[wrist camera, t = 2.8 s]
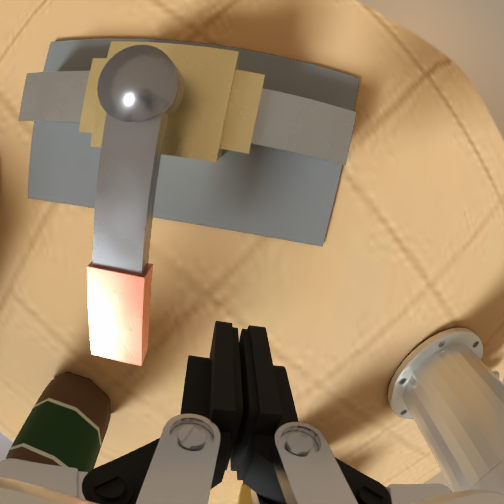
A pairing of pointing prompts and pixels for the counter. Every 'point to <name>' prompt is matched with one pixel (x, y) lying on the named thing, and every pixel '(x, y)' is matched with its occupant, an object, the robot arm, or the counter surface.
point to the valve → (201, 108)
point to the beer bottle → (65, 425)
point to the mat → (204, 172)
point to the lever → (128, 197)
